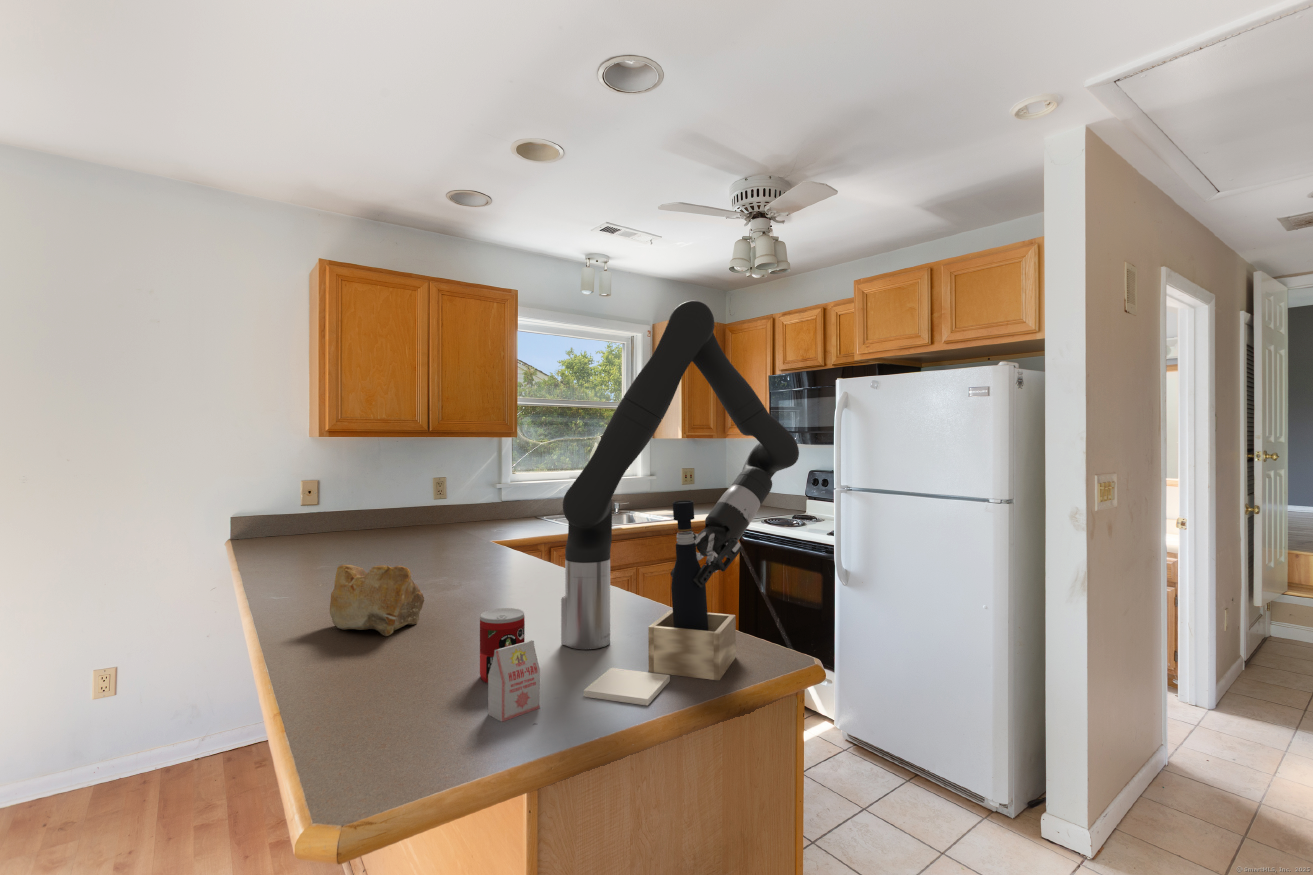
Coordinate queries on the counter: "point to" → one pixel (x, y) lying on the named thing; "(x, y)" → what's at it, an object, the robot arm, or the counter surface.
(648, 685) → the cream tile
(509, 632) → the canned food
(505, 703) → the white paper bag
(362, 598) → the rough brown rock
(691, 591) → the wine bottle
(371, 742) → the counter surface
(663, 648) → the pine crate
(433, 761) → the counter surface
